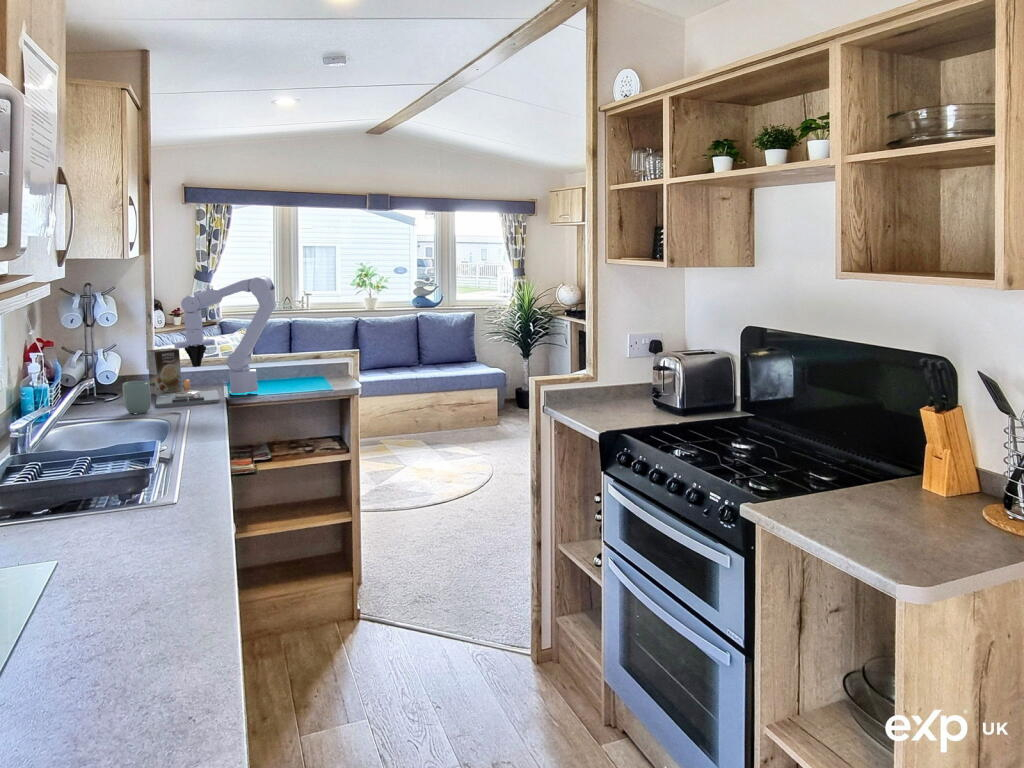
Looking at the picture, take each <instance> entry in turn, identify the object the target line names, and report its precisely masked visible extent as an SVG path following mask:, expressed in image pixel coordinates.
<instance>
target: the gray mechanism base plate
mask: <svg viewBox="0 0 1024 768" xmlns="http://www.w3.org/2000/svg"><path fill="white" fill-rule="evenodd" d="M199 391H200V390H199ZM211 402H220V403H221V399H220V396H219V392H218V389H214V390H213V389H212V390H201V391H200V396H198V395H194V397H192V398H176V397H175V393H171V394H157V395H156V401H155V408H156V409H158V408H159V409H160V408H170V407H182V406H195V405H196V406H197V405H206V404H205V403H209V404H212V403H211Z"/></svg>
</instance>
